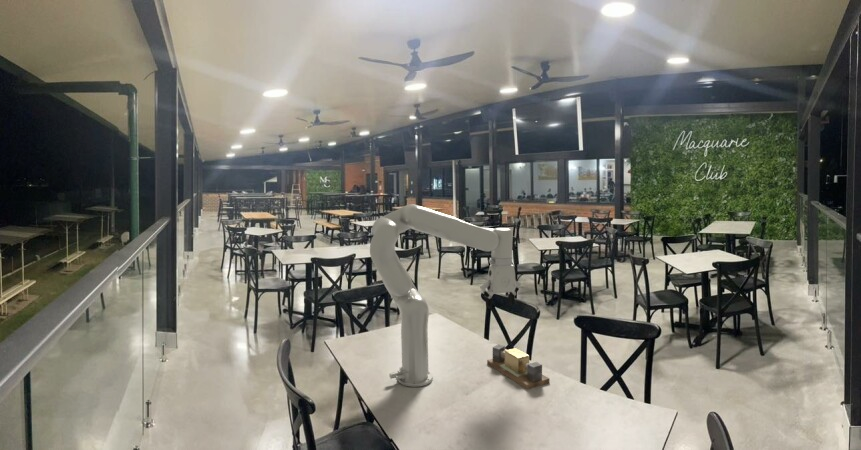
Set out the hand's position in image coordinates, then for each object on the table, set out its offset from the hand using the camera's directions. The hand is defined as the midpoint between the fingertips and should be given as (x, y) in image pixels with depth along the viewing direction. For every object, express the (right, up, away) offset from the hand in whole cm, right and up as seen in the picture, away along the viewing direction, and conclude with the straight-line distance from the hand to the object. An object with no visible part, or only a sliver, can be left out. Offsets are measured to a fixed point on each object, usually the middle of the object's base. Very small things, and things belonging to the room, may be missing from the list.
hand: (500, 306), depth 176 cm
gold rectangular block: (+6, -23, -1) cm, 23 cm away
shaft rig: (+6, -24, -1) cm, 25 cm away
